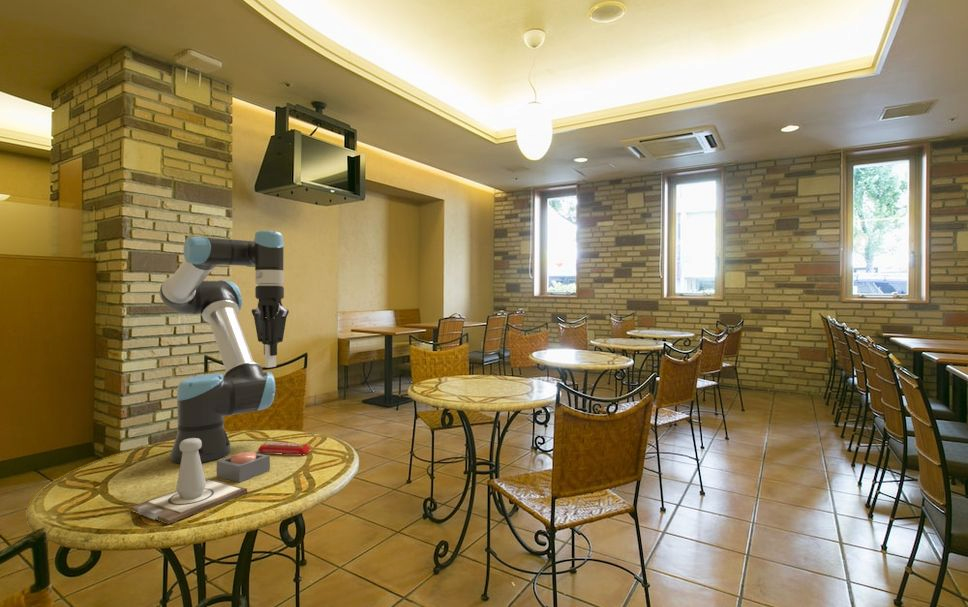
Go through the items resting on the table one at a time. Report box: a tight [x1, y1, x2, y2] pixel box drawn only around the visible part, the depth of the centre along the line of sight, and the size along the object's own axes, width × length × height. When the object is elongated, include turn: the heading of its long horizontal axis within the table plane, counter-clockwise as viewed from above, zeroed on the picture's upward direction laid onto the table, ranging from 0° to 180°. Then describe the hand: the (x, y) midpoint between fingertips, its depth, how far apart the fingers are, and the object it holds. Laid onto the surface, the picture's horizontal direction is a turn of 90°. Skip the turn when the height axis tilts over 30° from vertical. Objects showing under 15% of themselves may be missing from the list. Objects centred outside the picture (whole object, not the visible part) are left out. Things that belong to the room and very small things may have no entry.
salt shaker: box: [175, 438, 207, 500], centre depth 110 cm, size 6×6×13 cm
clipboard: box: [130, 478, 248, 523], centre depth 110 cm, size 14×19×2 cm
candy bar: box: [257, 441, 311, 456], centre depth 144 cm, size 16×4×3 cm, turn 81°
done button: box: [230, 451, 257, 464], centre depth 128 cm, size 6×6×3 cm
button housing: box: [216, 450, 271, 483], centre depth 128 cm, size 9×9×4 cm
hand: (270, 366), depth 140 cm, fingers closed
